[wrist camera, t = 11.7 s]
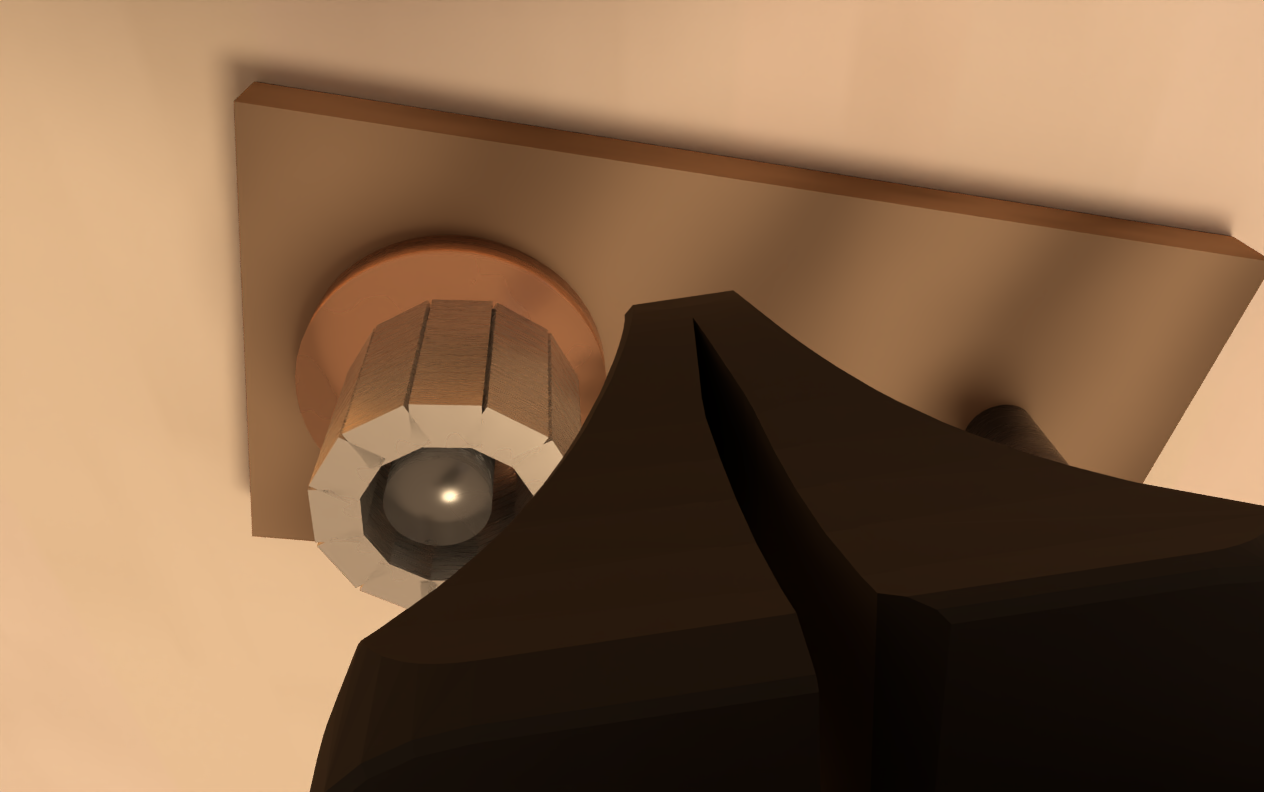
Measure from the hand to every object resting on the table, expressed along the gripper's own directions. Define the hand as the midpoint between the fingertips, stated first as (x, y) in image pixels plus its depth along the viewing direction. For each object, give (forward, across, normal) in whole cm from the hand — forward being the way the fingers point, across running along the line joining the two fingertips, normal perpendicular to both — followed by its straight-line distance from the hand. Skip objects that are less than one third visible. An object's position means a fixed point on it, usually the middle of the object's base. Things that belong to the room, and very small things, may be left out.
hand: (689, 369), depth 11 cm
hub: (+9, +5, +5) cm, 11 cm away
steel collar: (+8, +4, +5) cm, 10 cm away
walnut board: (+10, -2, +7) cm, 13 cm away
